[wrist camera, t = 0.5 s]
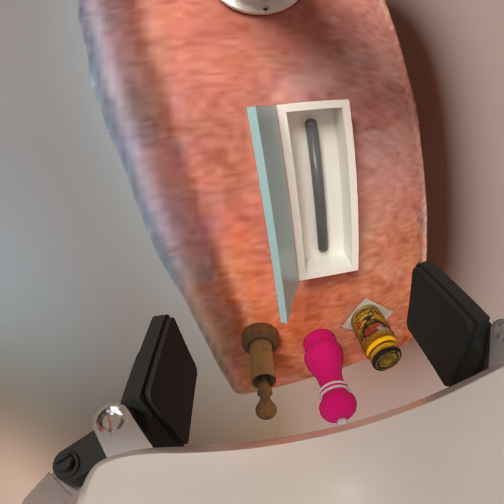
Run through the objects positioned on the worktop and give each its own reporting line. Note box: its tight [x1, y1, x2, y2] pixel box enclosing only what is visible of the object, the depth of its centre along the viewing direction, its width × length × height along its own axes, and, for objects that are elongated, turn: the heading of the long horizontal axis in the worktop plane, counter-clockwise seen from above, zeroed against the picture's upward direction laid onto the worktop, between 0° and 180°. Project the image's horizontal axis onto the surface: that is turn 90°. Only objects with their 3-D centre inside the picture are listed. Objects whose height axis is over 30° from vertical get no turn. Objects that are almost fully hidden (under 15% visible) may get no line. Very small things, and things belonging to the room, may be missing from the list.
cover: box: [247, 105, 299, 323], centre depth 32 cm, size 24×9×1 cm
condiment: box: [342, 298, 401, 371], centre depth 47 cm, size 7×8×12 cm
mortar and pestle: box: [242, 323, 279, 420], centre depth 44 cm, size 7×6×18 cm
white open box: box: [276, 99, 359, 281], centre depth 38 cm, size 24×9×5 cm, turn 9°
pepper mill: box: [303, 329, 357, 426], centre depth 45 cm, size 7×7×20 cm
